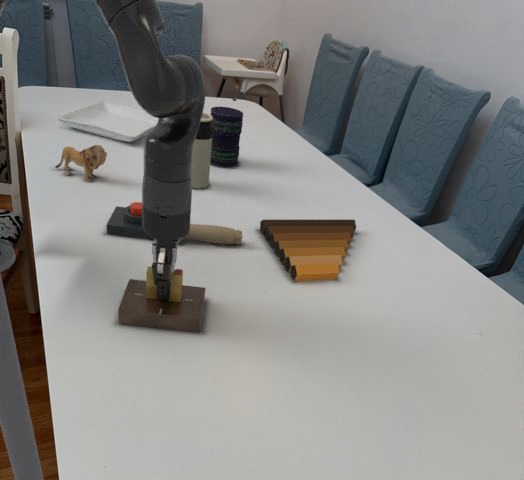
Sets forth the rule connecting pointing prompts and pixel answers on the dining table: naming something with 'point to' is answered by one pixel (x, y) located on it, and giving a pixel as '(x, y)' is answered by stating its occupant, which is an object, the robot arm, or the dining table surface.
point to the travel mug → (202, 153)
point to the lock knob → (174, 285)
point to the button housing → (126, 224)
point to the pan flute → (310, 246)
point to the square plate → (111, 121)
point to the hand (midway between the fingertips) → (164, 295)
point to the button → (136, 208)
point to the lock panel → (162, 308)
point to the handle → (214, 234)
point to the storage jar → (225, 136)
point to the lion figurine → (84, 159)
